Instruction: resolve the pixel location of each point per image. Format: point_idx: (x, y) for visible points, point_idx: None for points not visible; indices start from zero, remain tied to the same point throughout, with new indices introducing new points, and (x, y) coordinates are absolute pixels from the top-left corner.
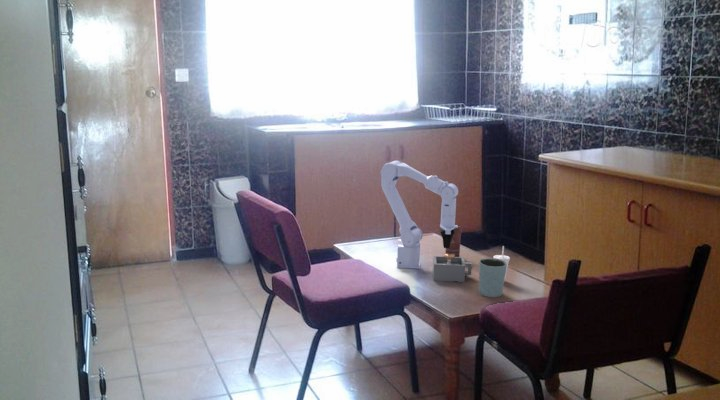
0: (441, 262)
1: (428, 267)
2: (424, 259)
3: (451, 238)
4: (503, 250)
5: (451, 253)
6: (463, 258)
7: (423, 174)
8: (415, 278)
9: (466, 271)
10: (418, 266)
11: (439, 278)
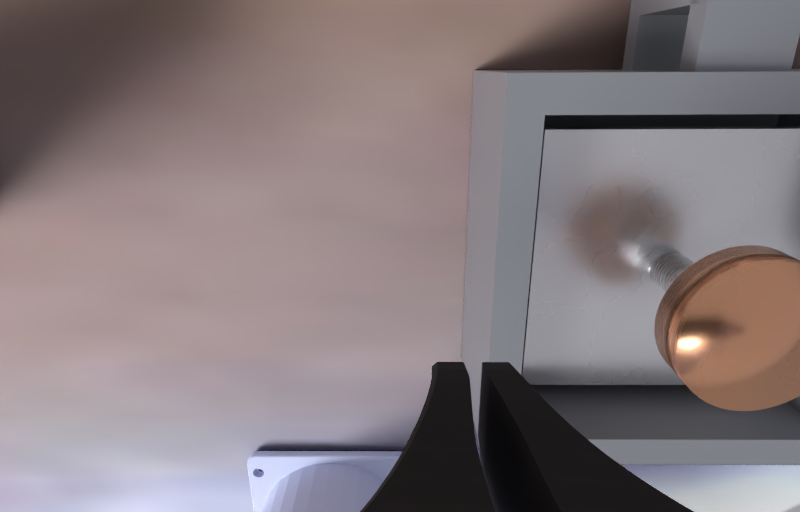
0: (531, 343)
1: (345, 387)
2: (101, 414)
3: (651, 487)
4: None
5: (693, 308)
6: (576, 77)
7: None
8: (671, 478)
9: (644, 32)
10: (377, 468)
11: None
